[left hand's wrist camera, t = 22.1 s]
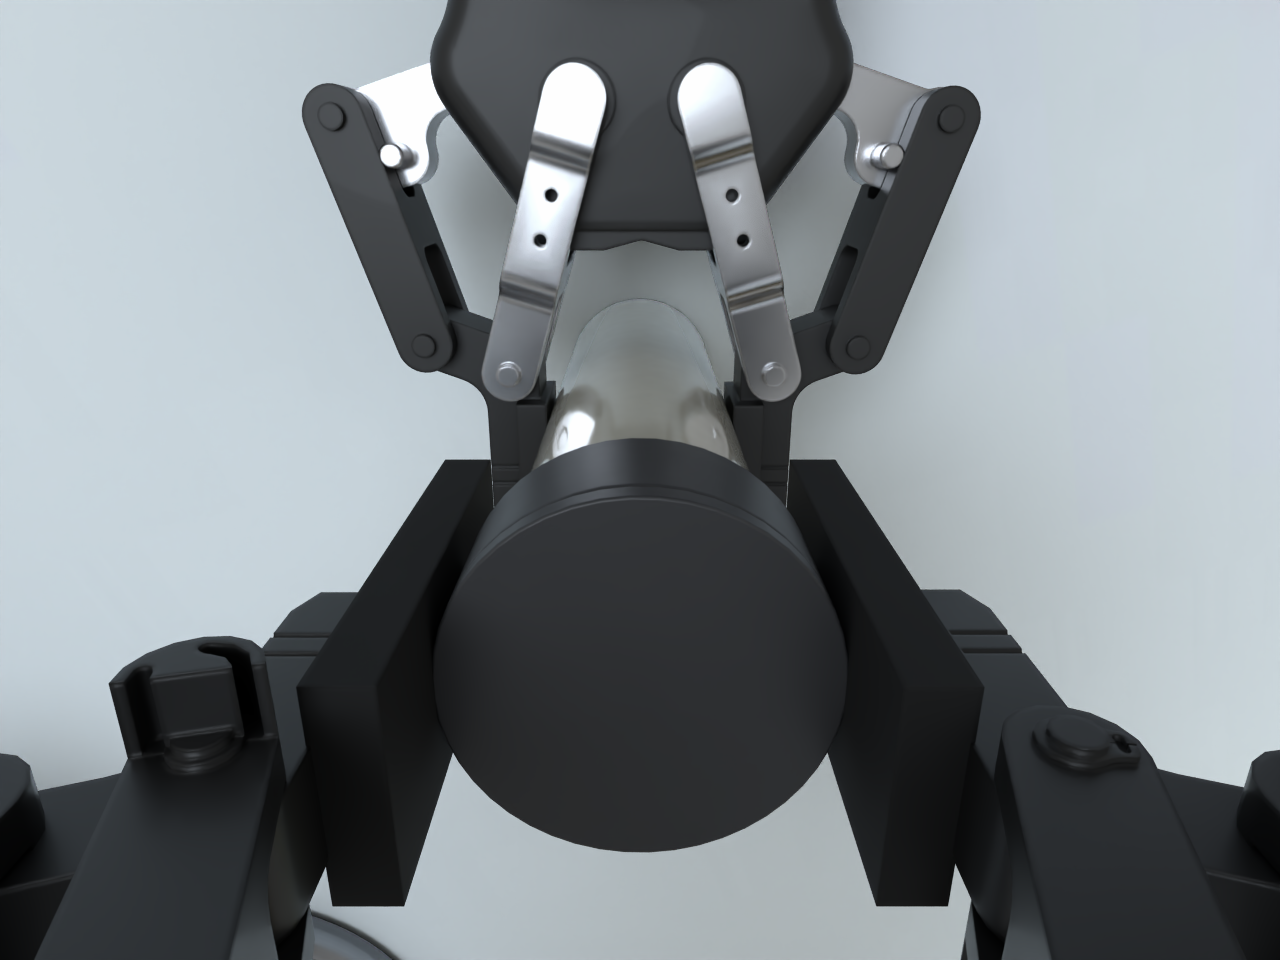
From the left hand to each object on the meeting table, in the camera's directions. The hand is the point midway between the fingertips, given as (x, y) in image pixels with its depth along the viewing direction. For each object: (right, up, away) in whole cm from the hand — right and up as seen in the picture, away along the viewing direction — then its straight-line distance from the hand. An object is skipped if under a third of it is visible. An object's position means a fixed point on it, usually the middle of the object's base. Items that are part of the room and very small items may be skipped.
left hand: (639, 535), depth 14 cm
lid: (0, -1, -4) cm, 4 cm away
